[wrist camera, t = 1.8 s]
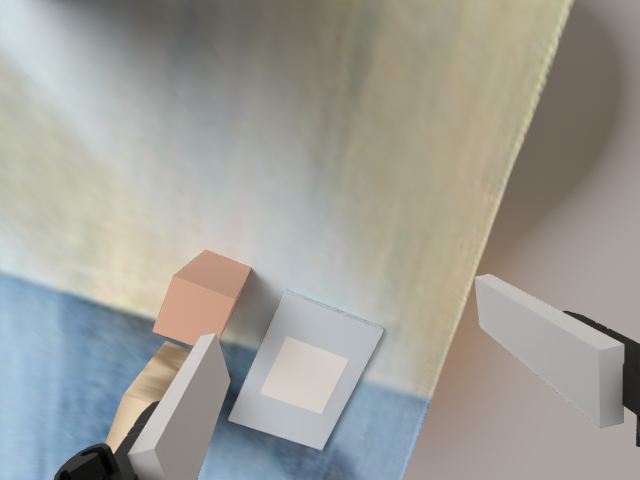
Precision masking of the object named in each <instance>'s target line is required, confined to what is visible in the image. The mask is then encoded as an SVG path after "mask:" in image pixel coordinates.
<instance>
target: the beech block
mask: <svg viewBox="0 0 640 480" xmlns="http://www.w3.org/2000/svg"><path fill="white" fill-rule="evenodd" d="M191 351H192V350H190V349H187V348H185V347H182V346H179V345H176V344H173V343H170V342H167V341H165V343H164V344H163V345H162V346H161V348H160V349H159V350H158V352H157V353H156V354H155V355H154V357H153V358H152V359H151V360H150V362H149V363H148V364H147V365H146V367H145V368H144V369H143V370H142V372H141V373H140V374H139V375H138V377H137V378H136V379H135V381H134V382H133V383H132V384H131V386H130V387H129V388H128V389H127V391H126V392H125V393H124V394H123V397H122V400H121V402H120V405H119V408H118V410H117V413H116V416H115V419H114V421H113V424H112V427H111V429H110V432H109V435H108V438H107V440H106V443H105V444H108V445H109V446H110V447H111V450H112V452H113V453H115V451H116V450H117V448H118V447H119V445H120V444H121V443H122V441H123V440H124V438H125V437H126V436H127V434H128V432H129V431H130V429H131V428H132V427H133V426H134V423H135V422H136V420H137V419H138V417H139V416H140V414H141V413H142V412H143V411H144V410H145V409H146V408H147V407H148V406H149V405H150V404H151V403H153V402H156V401H160V400H161V399H162V398H163V396H164V395H165V393H166V391H167V390H168V388H169V386H170V385H171V383H172V382H173V380H174V378H175V377H176V375H177V373H178V372H179V370H180V369H181V367H182V365H183V364H184V362H185V361H186V359H187V357H188V356H189V354H190V352H191Z"/></svg>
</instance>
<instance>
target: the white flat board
mask: <svg viewBox="0 0 640 480" xmlns="http://www.w3.org/2000/svg"><path fill="white" fill-rule="evenodd" d="M383 331H384V330H383V328H382V327H380V326H378V325H375V324H373V323H370V322H367V321H365V320H362V319H360V318H357V317H355V316H352V315H350V314H347V313H344V312H342V311H339V310H337V309H334V308H332V307H329V306H327V305H324V304H321V303H319V302H316V301H314V300H311V299H309V298H306V297H304V296H301V295H299V294H296V293H293V292H291V291H288V290H286V289H285V291H284V294H283V296H282V298H281V300H280V303H279V305H278V307H277V309H276V312H275V314H274V316H273V318H272V321H271V323H270V325H269V327H268V330H267V332H266V334H265V336H264V339H263V341H262V343H261V345H260V348H259V350H258V352H257V354H256V357H255V359H254V361H253V363H252V365H251V368H250V370H249V372H248V374H247V377H246V379H245V381H244V383H243V386H242V388H241V390H240V392H239V395H238V397H237V399H236V401H235V404H234V406H233V408H232V410H231V413H230V415H229V418H228V421H231V422H234V423H237V424H240V425H244V426H247V427H250V428H253V429H256V430H259V431H262V432H266V433H269V434H272V435H275V436H278V437H281V438H284V439H288V440H291V441H294V442H297V443H300V444H303V445H306V446H310V447H313V448H316V449H319V450H322V449H323V447H324V445H325V443H326V441H327V439H328V438H329V436H330V434H331V432H332V430H333V428H334V426H335V424H336V422H337V420H338V418H339V416H340V414H341V412H342V411H343V409H344V407H345V405H346V403H347V401H348V399H349V397H350V395H351V393H352V391H353V389H354V387H355V385H356V384H357V382H358V380H359V378H360V376H361V374H362V372H363V370H364V368H365V366H366V364H367V362H368V360H369V358H370V357H371V355H372V353H373V351H374V349H375V347H376V345H377V343H378V341H379V339H380V337H381V335H382V333H383Z"/></svg>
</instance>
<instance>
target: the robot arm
mask: <svg viewBox="0 0 640 480" xmlns="http://www.w3.org/2000/svg"><path fill="white" fill-rule="evenodd" d="M475 286H476V296H477V306H478V317H479V326H480V327H481V328H482V329H483V330H484V331H485V332H487V333H488V334H489V335H490V336H491V337H493V338H494V339H495V340H496V341H497V342H498V343H500V344H501V345H502V346H503V347H504V348H506V349H507V350H508V351H509V352H510V353H511V354H513V355H514V356H515V357H516V358H517V359H519V360H520V361H521V362H522V363H523V364H524V365H526V366H527V367H528V368H529V369H530V370H532V371H533V372H534V373H535V374H536V375H537V376H539V377H540V378H541V379H542V380H543V381H545V382H546V383H547V384H548V385H549V386H550V387H552V388H553V389H554V390H555V391H556V392H558V393H559V394H560V395H561V396H562V397H564V398H565V399H566V400H567V401H568V402H569V403H571V404H572V405H573V406H574V407H575V408H577V409H578V410H579V411H580V412H581V413H582V414H584V415H585V416H586V417H587V418H588V419H590V420H591V421H592V422H593V423H594V424H595V425H597V426H598V427H599V428H603V427H608V426H612V425H616V424H621V423H624V422H623V421H624V406H625V407H626V408H628V409H629V410H631V411H632V412H634V413H635V414H636V415H637V434H636V435H637V436H636V446H637V447H640V344H639V343H637V342H635V341H633V340H631V339H629V338H627V337H625V336H623V335H621V334H619V333H617V332H615V331H613V330H611V329H607V327H605V326H603V325H601V324H599V323H596V322H595V321H593V320H591V319H589V318H587V317H585V316H583V315H580V314H576V313H572V312H569V311H560V310H558V309H556V308H554V307H552V306H550V305H548V304H546V303H544V302H543V301H541V300H539V299H537V298H535V297H533V296H531V295H529V294H527V293H525V292H523V291H521V290H520V289H518V288H516V287H513V286H512V285H510V284H508V283H506V282H504V281H502V280H500V279H499V278H497V277H495V276H493V275H491V274H486V275H482V276H476V277H475ZM229 384H230V377H229V374H228V371H227V367H226V364H225V361H224V358H223V354H222V351H221V348H220V344H219V341H218V338H217V334H216V333H212V334H208V335H203V336H200V338H199V340H198V341H197V343H196V344H195V346H194V348H193V349H192V351H191V352H190V354H189V356H188V357H187V359H186V361H185V362H184V364H183V365H182V367H181V369H180V370H179V372H178V373H177V375H176V377H175V378H174V380H173V382H172V383H171V385H170V386H169V388H168V390H167V391H166V393H165V395H164V396H163V398H162V399H161V400H160V401H156V402H153V403H151V404H150V405H149V406H148V407H147V408H146V409H145V410H144V411H143V412H142V413H141V414H140V416H139V417H138V419H137V420H136V422H135V423H134V426H133V427H132V428H131V429H130V431H129V432H128V434H127V436H126V437H125V438H124V440H123V441H122V443H121V444H120V445H119V447H118V448H117V450H116V451H115V453H114V454H113V452H112V450H111V447H110V446H109V445H108V444H102V443H100V444H96V445H93V446H90V447H88V448H86V449H84V450H82V451H80V452H79V453H77V454H76V455H75V456H73V457H72V458H70V459H69V460H68V461H67V462H66V463H65V464H64V465H63V466H62V467H61V468H60V469H59V471H58V472H57V474H56V475H55V477H54V480H197V479H198V476H199V473H200V470H201V467H202V464H203V461H204V458H205V455H206V452H207V449H208V446H209V443H210V440H211V437H212V434H213V431H214V428H215V425H216V422H217V419H218V417H219V414H220V411H221V408H222V405H223V402H224V399H225V396H226V393H227V390H228V387H229Z"/></svg>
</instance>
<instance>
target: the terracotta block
mask: <svg viewBox="0 0 640 480" xmlns="http://www.w3.org/2000/svg"><path fill="white" fill-rule="evenodd" d="M250 270H251V267H248V266H246V265H243V264H241V263H238V262H236V261H233V260H231V259H228V258H226V257H223V256H221V255H218V254H215V253H213V252H210V251H208V250H204V251H203V252H202V253H201V254H199V255H198V256H197V257H196V258H194V259H193V260H192V261H191V262H189V263H188V264H187V265H186V266H185V267H183V268H182V269H181V270H180V271H178V272H177V273H176V274H175V275H174V276H173V277H172V280H171V283H170V285H169V288H168V291H167V294H166V296H165V299H164V302H163V304H162V307H161V310H160V312H159V315H158V318H157V320H156V323H155V326H154V328H153V331H152V332H155V333H158V334H161V335H164V336H166V337H169V338H172V339H175V340H178V341H181V342H184V343H187V344H189V345H192V346H195V344H196V343H197V341H198V340H199V338H200V336H203V335H208V334H212V333H216V334H217V338H218V341H219V340H220V338H221V336H222V333H223V331H224V329H225V327H226V325H227V323H228V321H229V319H230V317H231V315H232V313H233V311H234V308H235V306H236V304H237V301H238V299H239V297H240V294H241V292H242V289H243V287H244V285H245V282H246V280H247V277H248V275H249V273H250Z"/></svg>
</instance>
